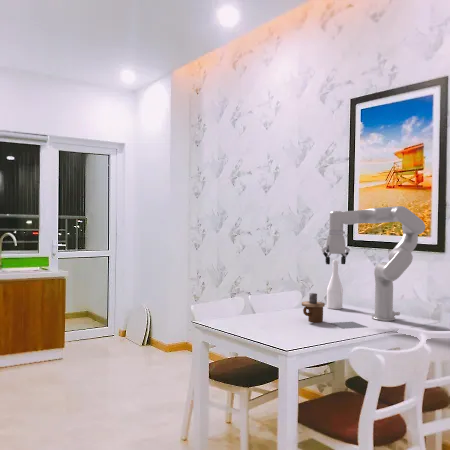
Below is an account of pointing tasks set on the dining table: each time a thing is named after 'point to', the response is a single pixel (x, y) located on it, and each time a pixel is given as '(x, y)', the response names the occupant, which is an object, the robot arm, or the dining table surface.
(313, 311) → the mug
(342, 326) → the rubber mat
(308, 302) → the copper lid
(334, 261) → the wine bottle
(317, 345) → the dining table surface
